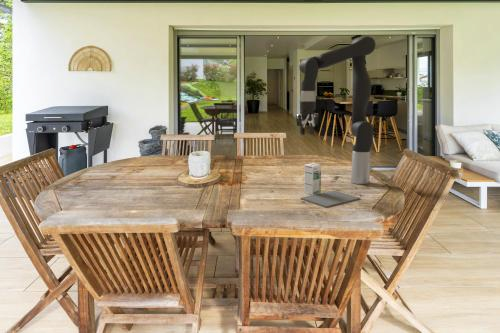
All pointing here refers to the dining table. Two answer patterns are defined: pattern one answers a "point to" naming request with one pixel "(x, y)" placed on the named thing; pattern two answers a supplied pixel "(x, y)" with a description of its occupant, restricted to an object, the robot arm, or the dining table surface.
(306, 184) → the syrup box
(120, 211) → the dining table surface
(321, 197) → the charcoal mat
